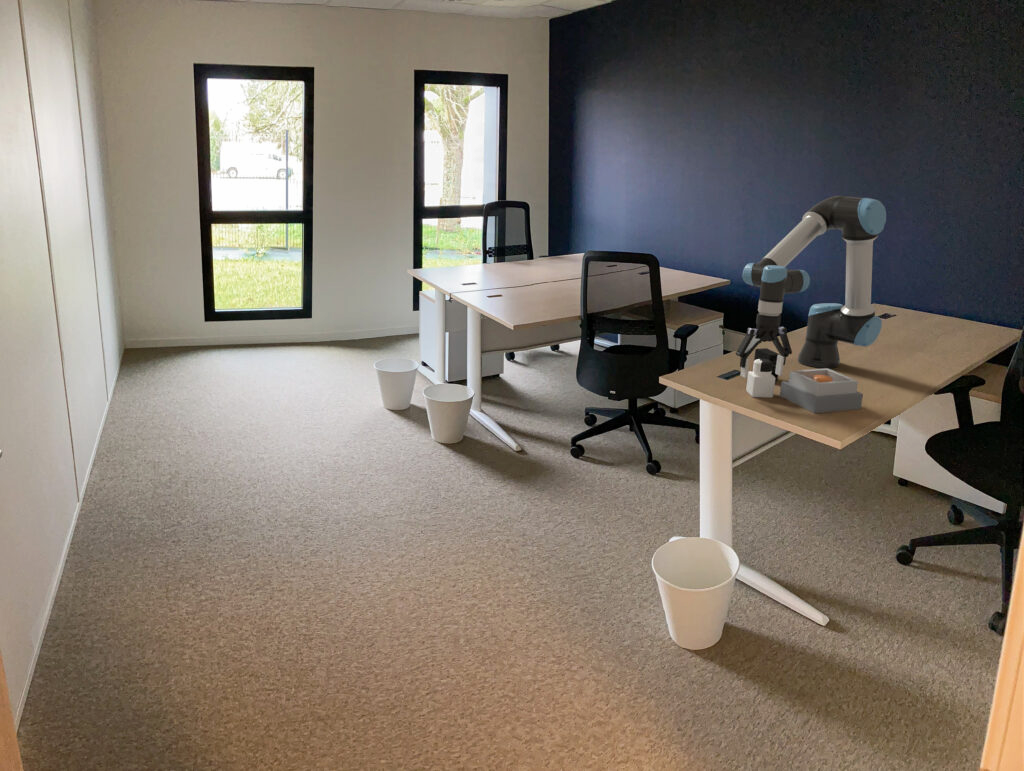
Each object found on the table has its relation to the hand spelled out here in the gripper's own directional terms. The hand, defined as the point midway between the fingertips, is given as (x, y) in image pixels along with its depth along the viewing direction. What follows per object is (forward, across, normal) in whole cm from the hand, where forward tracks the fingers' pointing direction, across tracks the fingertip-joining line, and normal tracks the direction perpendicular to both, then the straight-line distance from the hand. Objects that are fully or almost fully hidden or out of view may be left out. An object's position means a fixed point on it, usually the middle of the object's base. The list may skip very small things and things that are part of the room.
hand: (761, 375), depth 279 cm
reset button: (+3, -15, +12) cm, 20 cm away
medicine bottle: (+7, 0, 0) cm, 7 cm away
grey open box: (+6, -15, +12) cm, 20 cm away
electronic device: (+7, -13, -16) cm, 22 cm away
